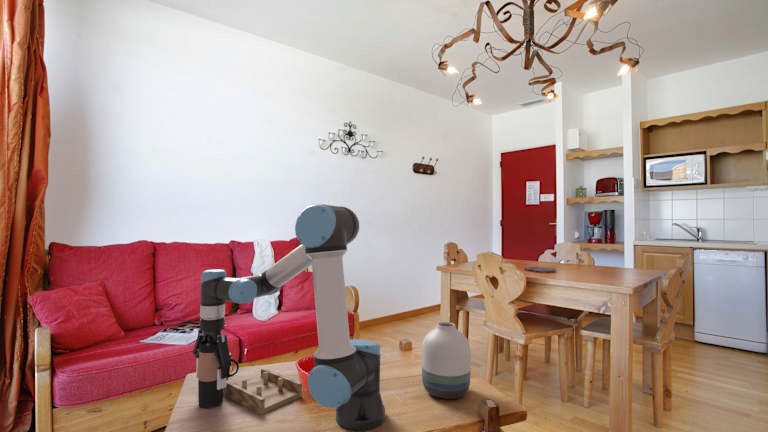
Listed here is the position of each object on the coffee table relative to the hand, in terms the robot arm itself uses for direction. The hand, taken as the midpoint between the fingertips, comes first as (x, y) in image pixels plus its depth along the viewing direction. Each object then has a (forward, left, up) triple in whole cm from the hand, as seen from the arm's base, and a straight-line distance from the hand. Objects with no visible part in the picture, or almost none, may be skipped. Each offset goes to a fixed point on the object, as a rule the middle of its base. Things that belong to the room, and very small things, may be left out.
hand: (210, 382), depth 123 cm
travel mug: (0, 0, -7) cm, 7 cm away
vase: (-56, -56, -7) cm, 80 cm away
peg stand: (-8, -14, -7) cm, 18 cm away
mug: (+13, -11, -7) cm, 18 cm away
